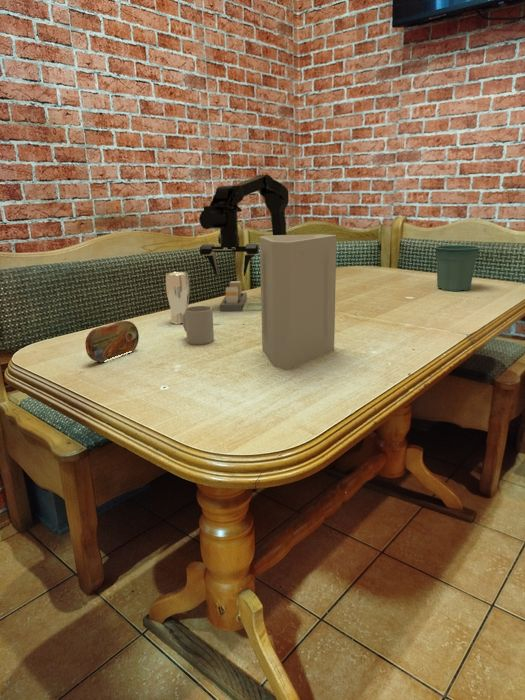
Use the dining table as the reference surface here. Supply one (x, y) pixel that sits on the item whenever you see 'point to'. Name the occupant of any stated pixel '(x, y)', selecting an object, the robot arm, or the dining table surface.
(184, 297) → the beer glass
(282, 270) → the taupe rounded pillar
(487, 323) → the dining table surface
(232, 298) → the plug
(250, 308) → the tray
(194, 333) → the cup
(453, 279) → the flower pot
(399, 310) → the dining table surface
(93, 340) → the tin
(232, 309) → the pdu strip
